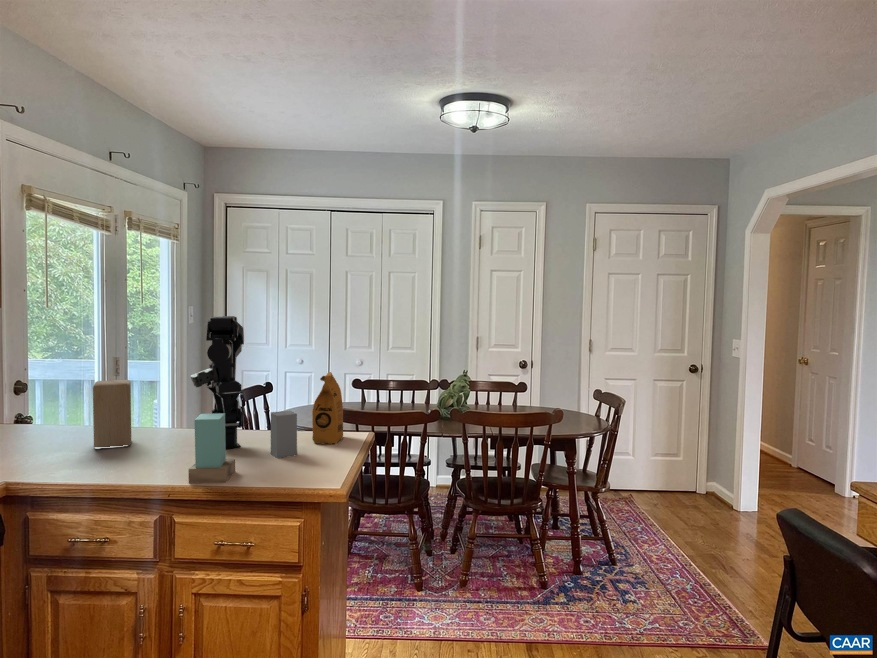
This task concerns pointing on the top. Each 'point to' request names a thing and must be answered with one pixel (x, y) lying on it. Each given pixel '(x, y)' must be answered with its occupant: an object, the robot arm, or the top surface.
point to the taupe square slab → (212, 473)
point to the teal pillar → (210, 440)
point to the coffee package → (328, 412)
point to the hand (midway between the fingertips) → (223, 413)
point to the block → (112, 413)
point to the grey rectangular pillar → (283, 434)
